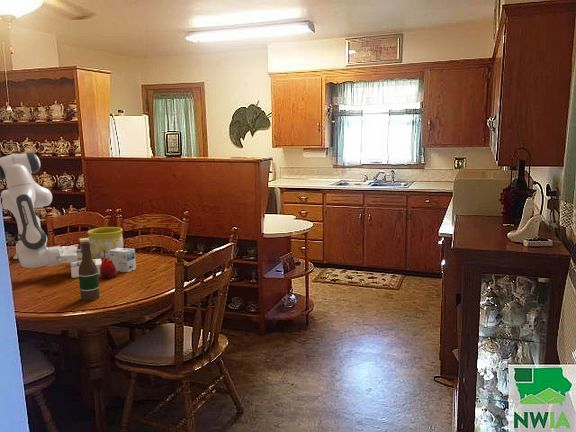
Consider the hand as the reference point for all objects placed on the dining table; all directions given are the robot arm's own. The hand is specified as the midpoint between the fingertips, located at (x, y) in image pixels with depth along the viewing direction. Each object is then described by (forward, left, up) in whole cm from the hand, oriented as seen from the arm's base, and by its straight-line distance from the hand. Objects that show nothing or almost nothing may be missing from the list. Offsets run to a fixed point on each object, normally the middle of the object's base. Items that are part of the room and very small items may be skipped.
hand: (87, 252), depth 234 cm
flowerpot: (-23, +10, -10) cm, 27 cm away
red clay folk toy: (+13, +8, -10) cm, 19 cm away
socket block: (0, -1, -10) cm, 10 cm away
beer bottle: (+41, -1, -10) cm, 42 cm away
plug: (0, -1, -7) cm, 7 cm away
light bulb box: (+3, +16, -10) cm, 19 cm away
